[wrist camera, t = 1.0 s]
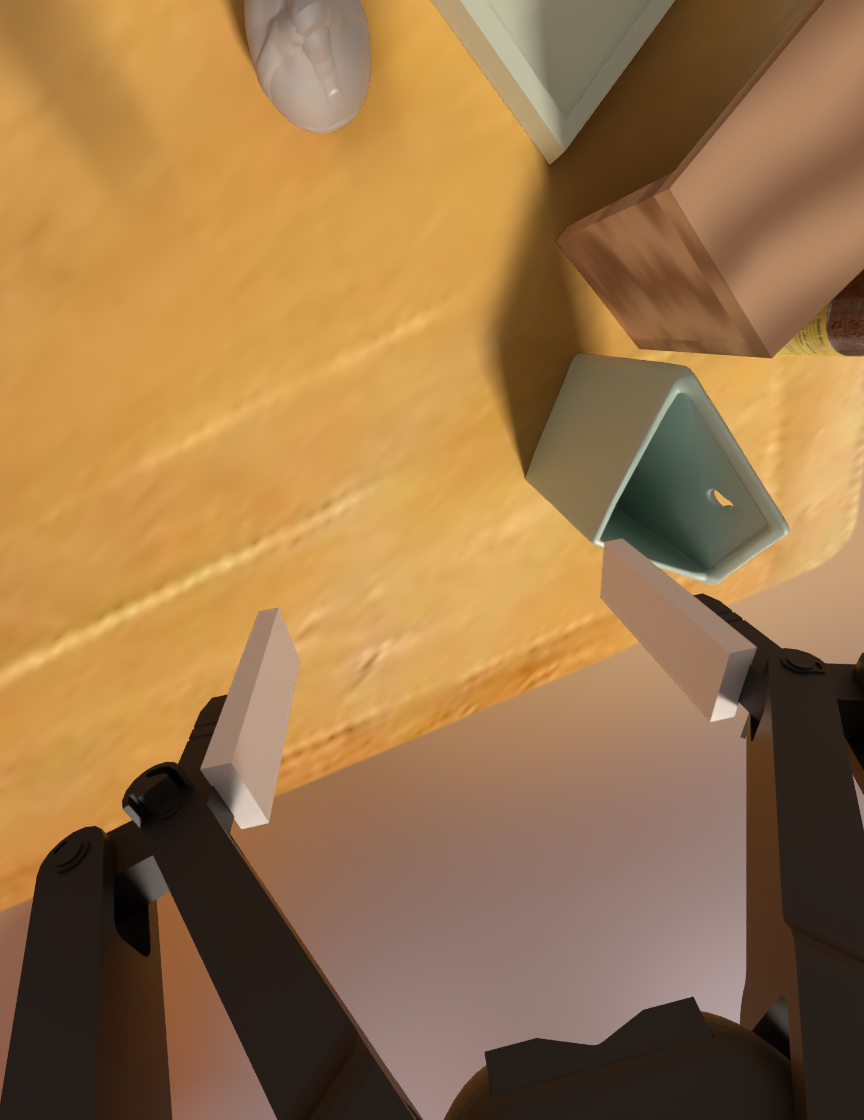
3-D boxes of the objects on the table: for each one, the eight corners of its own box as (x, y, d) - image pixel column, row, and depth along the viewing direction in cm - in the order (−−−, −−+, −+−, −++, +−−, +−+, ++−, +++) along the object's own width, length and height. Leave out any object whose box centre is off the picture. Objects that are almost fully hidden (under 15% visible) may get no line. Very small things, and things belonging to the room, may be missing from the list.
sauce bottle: (742, 364, 37) (1072, 394, 20) (688, 338, 35) (996, 347, 18) (793, 280, 34) (1228, 230, 17) (736, 248, 32) (1157, 156, 15)
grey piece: (494, 397, 35) (614, 461, 18) (580, 351, 35) (791, 373, 17) (550, 546, 43) (670, 688, 26) (622, 512, 43) (794, 635, 25)
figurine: (331, -46, 23) (316, -210, 16) (389, 118, 26) (398, 42, 19) (228, 18, 23) (171, -112, 17) (298, 170, 27) (275, 115, 20)
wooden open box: (555, 241, 31) (669, 188, 19) (756, -18, 26) (1071, -299, 14) (639, 348, 35) (772, 358, 24) (823, 145, 30) (1105, 33, 19)
